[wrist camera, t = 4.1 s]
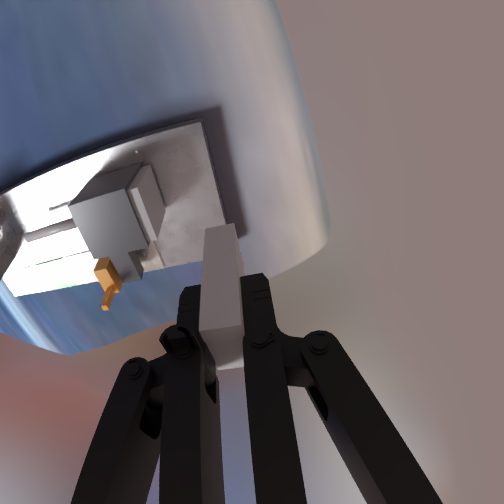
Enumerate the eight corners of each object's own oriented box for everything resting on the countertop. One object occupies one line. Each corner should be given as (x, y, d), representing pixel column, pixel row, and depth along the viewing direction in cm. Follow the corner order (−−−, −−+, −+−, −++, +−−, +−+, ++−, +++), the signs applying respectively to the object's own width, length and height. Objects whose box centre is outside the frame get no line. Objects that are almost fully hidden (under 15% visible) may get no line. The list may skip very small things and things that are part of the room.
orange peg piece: (112, 276, 29) (100, 312, 25) (100, 254, 27) (85, 289, 23) (125, 274, 29) (114, 310, 25) (113, 251, 27) (98, 287, 23)
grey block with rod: (70, 279, 29) (55, 312, 25) (28, 202, 23) (3, 231, 19) (183, 256, 28) (179, 292, 24) (149, 160, 22) (134, 185, 18)
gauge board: (20, 286, 31) (-3, 330, 25) (-27, 207, 23) (-63, 246, 17) (232, 242, 31) (237, 299, 24) (202, 117, 23) (194, 143, 16)
